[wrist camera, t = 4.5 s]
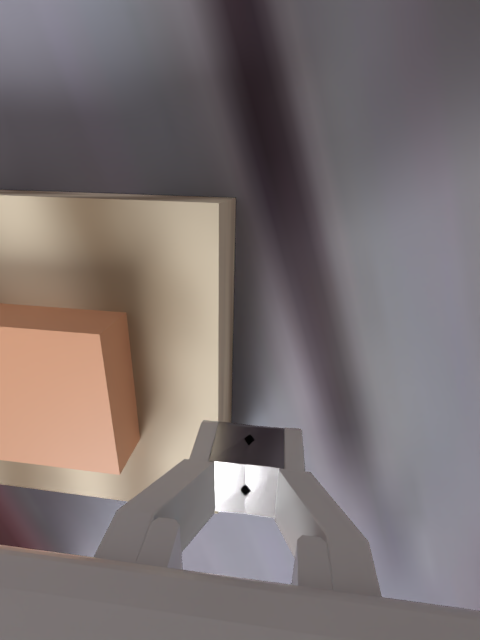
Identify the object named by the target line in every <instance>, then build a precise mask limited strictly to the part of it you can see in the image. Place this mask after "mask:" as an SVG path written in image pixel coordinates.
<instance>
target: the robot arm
mask: <svg viewBox="0 0 480 640" xmlns="http://www.w3.org/2000/svg"><path fill="white" fill-rule="evenodd" d="M215 511H219V512H230V513H241V514H249V515H256V516H263V517H269V518H275V522H276V524H277V525H278V527H279V529H280V531H281V533H282V535H283V537H284V539H285V541H286V543H287V545H288V547H289V549H290V550H291V552H292V554H293V556H294V558H295V560H294V568H293V575H292V583H291V585H290V584H282V583H275V582H268V581H260V580H253V579H246V578H239V577H231V576H224V575H217V574H209V573H202V572H195V571H187V570H183V567H182V551H183V550H184V549H185V548H186V547H187V545H188V544H189V543H190V542H191V541H192V539H193V538H194V537H195V536H196V535H197V534H198V532H199V531H200V530H201V529H202V528H203V526H204V525H205V524H206V523H207V522H208V520H209V519H210V518H211V517H212V516H213V514H214V513H215ZM0 640H480V611H479V610H471V609H464V608H457V607H450V606H442V605H435V604H428V603H421V602H413V601H406V600H399V599H392V598H384V597H382V596H381V592H380V588H379V583H378V579H377V575H376V571H375V566H374V562H373V558H372V554H371V549H370V545H369V542H368V540H367V539H366V538H365V537H364V536H363V534H362V533H361V532H360V531H359V530H358V528H357V527H356V526H355V525H354V524H353V522H352V521H351V520H350V519H349V518H348V517H347V515H346V514H345V513H344V512H343V511H342V509H341V508H340V507H339V506H338V505H337V503H336V502H335V501H334V500H333V499H332V497H331V496H330V495H329V494H328V493H327V491H326V490H325V489H324V488H323V487H322V485H321V484H320V483H319V482H318V481H317V479H316V478H315V477H314V476H313V475H312V474H311V472H305V463H304V450H303V438H302V430H301V429H296V428H278V427H267V426H255V425H246V424H237V423H229V422H218V421H209V420H203V421H202V423H201V425H200V428H199V431H198V434H197V437H196V440H195V443H194V446H193V449H192V452H191V455H190V458H189V459H184V460H182V461H181V462H180V463H178V464H177V465H176V466H174V467H173V468H172V469H170V470H169V471H168V472H167V473H165V474H164V475H163V476H161V477H160V478H159V479H157V480H156V481H155V482H153V483H152V484H151V485H149V486H148V487H147V488H146V489H144V490H143V491H142V492H140V493H139V494H138V495H136V496H135V497H134V498H132V499H131V500H130V501H129V502H127V503H126V504H125V505H123V506H122V507H121V508H119V509H118V510H117V511H116V513H115V515H114V517H113V519H112V521H111V523H110V525H109V527H108V529H107V531H106V533H105V535H104V537H103V539H102V541H101V543H100V545H99V547H98V549H97V551H96V553H95V555H94V557H87V556H79V555H72V554H65V553H58V552H50V551H43V550H36V549H28V548H21V547H14V546H7V545H0Z"/></svg>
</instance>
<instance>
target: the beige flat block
mask: <svg viewBox="0 0 480 640" xmlns="http://www.w3.org/2000/svg"><path fill="white" fill-rule="evenodd" d="M235 212H236V198H227V197H198V196H169V195H139V194H110V193H81V192H51V191H22V190H0V303H3V304H17V305H31V306H44V307H58V308H72V309H86V310H100V311H113V312H126V313H127V322H128V331H129V340H130V350H131V359H132V368H133V377H134V386H135V396H136V405H137V414H138V423H139V433H140V440H139V442H138V444H137V446H136V447H135V449H134V451H133V453H132V454H131V456H130V458H129V460H128V461H127V463H126V465H125V467H124V468H123V470H122V472H121V474H120V475H116V474H108V473H100V472H92V471H84V470H76V469H68V468H60V467H52V466H44V465H36V464H28V463H20V462H12V461H4V460H0V484H2V485H9V486H17V487H24V488H32V489H39V490H47V491H54V492H62V493H69V494H76V495H84V496H91V497H99V498H106V499H114V500H121V501H130V500H131V499H132V498H134V497H135V496H136V495H138V494H139V493H140V492H142V491H143V490H144V489H146V488H147V487H148V486H149V485H151V484H152V483H153V482H155V481H156V480H157V479H159V478H160V477H161V476H163V475H164V474H165V473H167V472H168V471H169V470H170V469H172V468H173V467H174V466H176V465H177V464H178V463H180V462H181V461H182V460H184V459H189V458H190V455H191V452H192V449H193V446H194V443H195V440H196V437H197V434H198V431H199V428H200V425H201V423H202V421H203V420H209V421H218V422H229V423H231V406H232V357H233V309H234V261H235ZM215 513H218V511H215Z"/></svg>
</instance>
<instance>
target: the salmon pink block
mask: <svg viewBox="0 0 480 640" xmlns="http://www.w3.org/2000/svg"><path fill="white" fill-rule="evenodd" d="M139 440H140V433H139V423H138V414H137V405H136V396H135V386H134V377H133V368H132V359H131V350H130V340H129V331H128V322H127V313H126V312H113V311H100V310H86V309H72V308H58V307H44V306H31V305H17V304H3V303H0V460H4V461H12V462H20V463H28V464H36V465H44V466H52V467H60V468H68V469H76V470H84V471H92V472H100V473H108V474H116V475H120V474H121V472H122V470H123V468H124V467H125V465H126V463H127V461H128V460H129V458H130V456H131V454H132V453H133V451H134V449H135V447H136V446H137V444H138V442H139Z"/></svg>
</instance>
